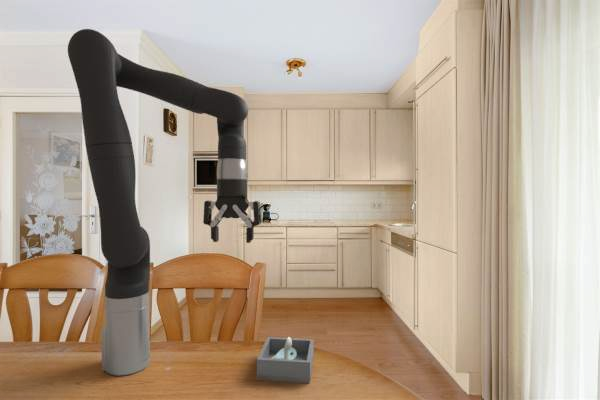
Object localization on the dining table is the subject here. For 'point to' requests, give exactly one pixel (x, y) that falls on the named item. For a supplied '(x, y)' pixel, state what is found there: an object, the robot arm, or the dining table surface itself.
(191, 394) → the dining table surface
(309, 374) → the bin
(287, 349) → the pacifier
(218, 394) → the dining table surface
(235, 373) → the dining table surface
